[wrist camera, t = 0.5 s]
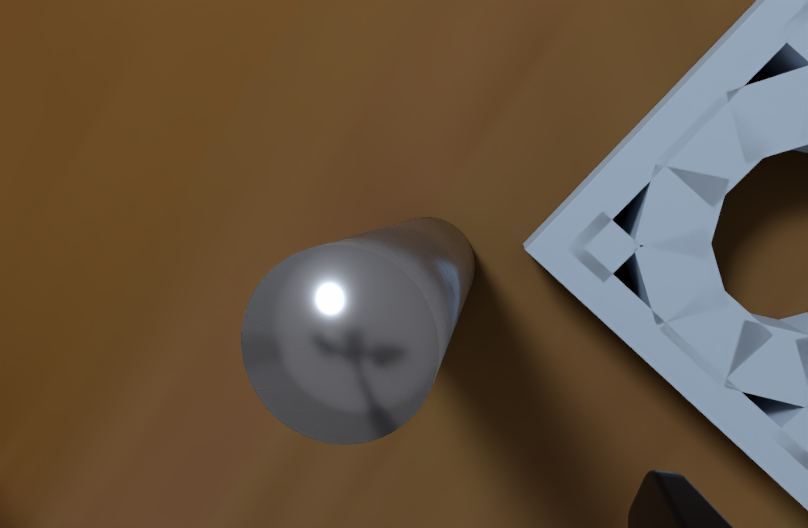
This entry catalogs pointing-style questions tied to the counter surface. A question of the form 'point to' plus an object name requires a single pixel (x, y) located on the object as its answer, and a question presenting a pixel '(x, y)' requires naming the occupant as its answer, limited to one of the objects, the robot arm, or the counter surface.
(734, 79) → the holder
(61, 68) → the counter surface
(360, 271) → the round bit
